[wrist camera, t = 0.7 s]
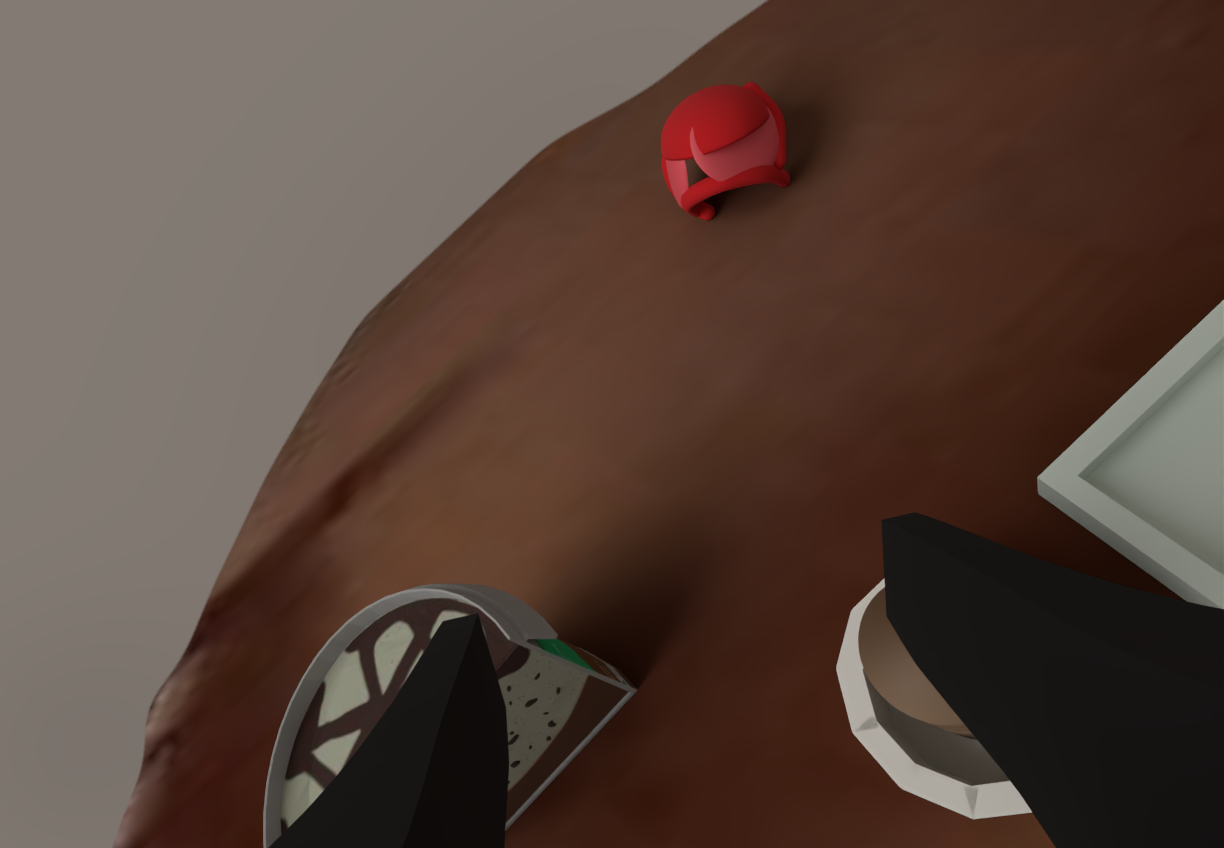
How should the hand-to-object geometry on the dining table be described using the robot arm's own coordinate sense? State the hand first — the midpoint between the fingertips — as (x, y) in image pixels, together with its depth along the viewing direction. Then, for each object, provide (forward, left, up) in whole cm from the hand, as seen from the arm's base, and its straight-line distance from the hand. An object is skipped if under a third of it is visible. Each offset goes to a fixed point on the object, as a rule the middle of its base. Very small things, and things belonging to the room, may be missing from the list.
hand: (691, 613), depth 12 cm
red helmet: (+22, -13, -17) cm, 31 cm away
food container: (+9, +12, -17) cm, 22 cm away
